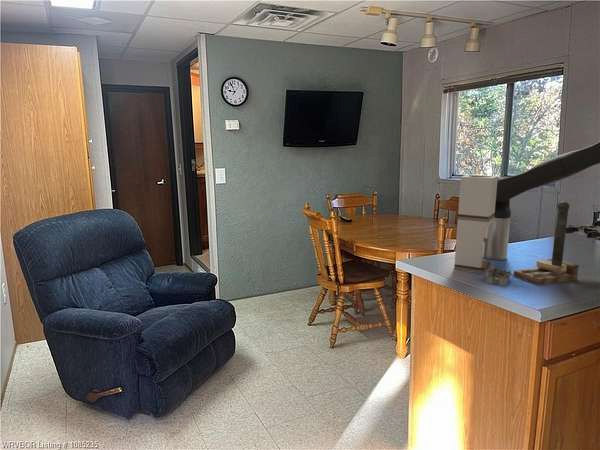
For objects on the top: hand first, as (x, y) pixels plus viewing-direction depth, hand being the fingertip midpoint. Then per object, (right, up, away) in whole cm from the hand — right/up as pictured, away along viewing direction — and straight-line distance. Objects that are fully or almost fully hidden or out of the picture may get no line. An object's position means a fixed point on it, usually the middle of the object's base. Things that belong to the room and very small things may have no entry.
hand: (576, 232), depth 159 cm
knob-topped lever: (-8, -13, +1) cm, 15 cm away
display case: (-32, -14, +13) cm, 37 cm away
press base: (-11, -16, +1) cm, 19 cm away
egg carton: (-29, -17, -2) cm, 34 cm away
